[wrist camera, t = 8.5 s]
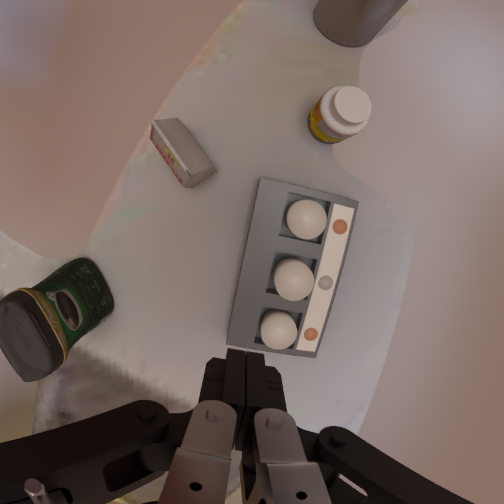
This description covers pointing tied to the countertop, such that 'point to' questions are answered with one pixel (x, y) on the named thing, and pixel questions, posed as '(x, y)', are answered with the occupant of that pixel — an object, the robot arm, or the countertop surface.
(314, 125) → the supplement bottle
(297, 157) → the countertop surface
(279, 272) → the middle button
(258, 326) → the button board
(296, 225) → the button
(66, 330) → the coffee jar
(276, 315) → the button
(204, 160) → the grey carton box
